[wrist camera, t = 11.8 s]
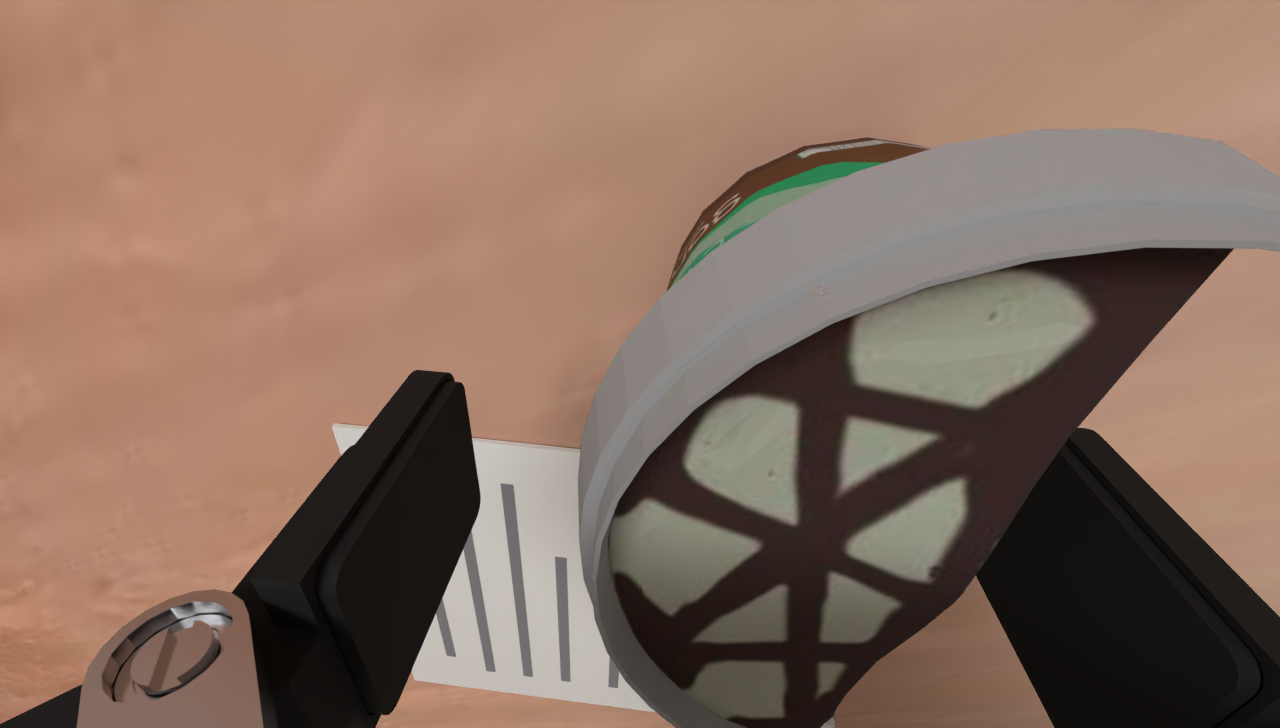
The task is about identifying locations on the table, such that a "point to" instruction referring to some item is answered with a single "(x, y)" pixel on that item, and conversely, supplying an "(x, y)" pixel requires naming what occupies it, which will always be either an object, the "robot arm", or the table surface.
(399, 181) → the table surface
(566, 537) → the letter
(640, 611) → the food container
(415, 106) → the table surface
